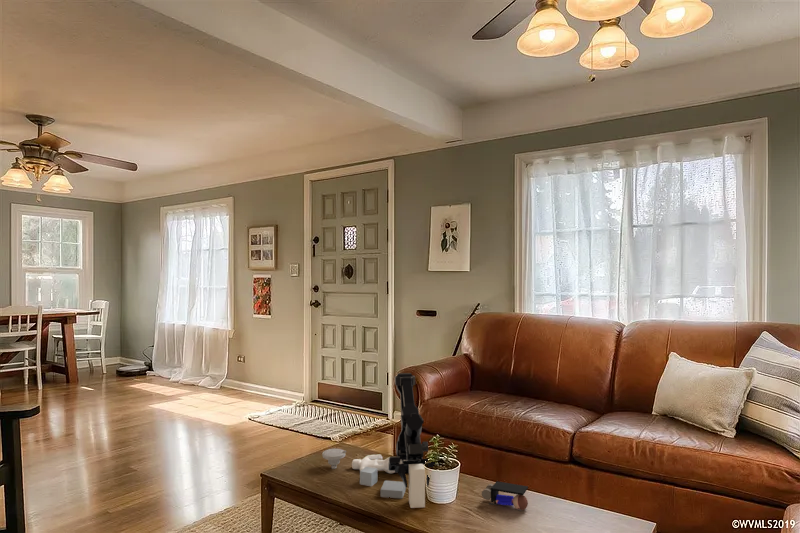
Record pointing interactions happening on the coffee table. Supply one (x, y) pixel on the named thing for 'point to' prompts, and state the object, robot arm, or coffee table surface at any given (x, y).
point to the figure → (372, 463)
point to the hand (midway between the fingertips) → (417, 486)
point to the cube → (368, 476)
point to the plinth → (393, 489)
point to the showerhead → (333, 456)
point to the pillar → (416, 485)
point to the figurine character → (517, 501)
